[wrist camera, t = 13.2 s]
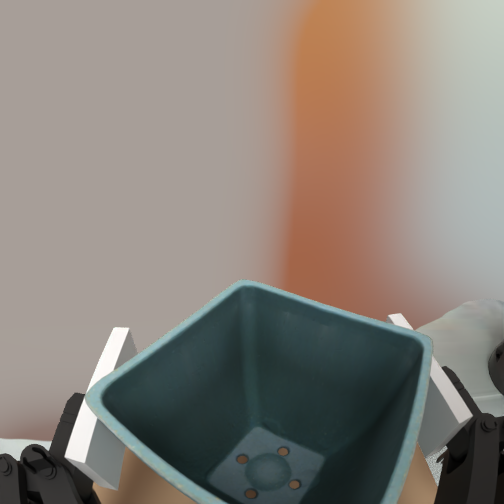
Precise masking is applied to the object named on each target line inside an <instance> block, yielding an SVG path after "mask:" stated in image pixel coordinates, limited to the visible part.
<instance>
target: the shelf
mask: <svg viewBox="0 0 504 504" xmlns="http://www.w3.org/2000/svg"><path fill="white" fill-rule="evenodd" d="M278 453H279V454H280V455H283V456H284V455H286V454H288V451H287V449H285V448H281V449H279V451H278ZM237 460H238V462H239V463H246V462H247V458H246V457H245V456H240V457H238V459H237ZM290 487H291V488H293V489H295V488H298V487H299V482H297V481H292V482H291V483H290ZM92 488H93V489H94V490H95V492H96V494H97V496H98V498H99V500H100V502H101V504H197V503H196V502H194V501H193V500H191V499H190V498H188V497H187V496H186V495H184V494H183V493H181V492H180V491H179V490H177V489H176V488H175V487H173V486H172V485H171V484H169V483H168V482H167V481H165V480H164V479H163V478H162V477H160V476H159V475H158V474H157V473H155V472H154V471H153V470H152V469H151V468H149V467H148V466H147V465H146V464H145V463H144V462H142V461H141V460H140V459H139V458H138V457H137V456H136V455H135V454H134V453H132V452H131V451H130V450H129V449H128V448H127V447H125V452H124V458H123V463H122V469H121V474H120V480H119V487H118V490H113V489H109V488H105V487H101V486H99V485H98V484H96V483H95V482H93V487H92ZM437 489H438V487H437V485H436V483H435V480H434V478H433V476H432V473H431V471H430V469H429V466H428V464H427V462H426V460H425V458H424V455H423V453H422V451H421V449H420V447H419V445H418V442H417V444H416V448H415V452H414V456H413V459H412V462H411V465H410V468H409V472H408V475H407V478H406V480H405V483H404V486H403V490H402V493H401V496H400V498H399V500H398V503H397V504H434V501H435V497H436V493H437ZM246 496H247V497H248V498H254V497H255V496H256V493H255V492H254V491H252V490H249V491H247V492H246Z"/></svg>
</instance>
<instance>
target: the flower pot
mask: <svg viewBox="0 0 504 504" xmlns="http://www.w3.org/2000/svg"><path fill="white" fill-rule="evenodd" d="M432 356H433V343H432V340H431V338H430V337H429V336H427V335H424V334H422V333H419V332H416V331H414V330H411V329H409V328H405V327H401V326H398V325H394V324H391V323H387V322H382V321H379V320H376V319H371V318H368V317H365V316H361V315H358V314H354V313H351V312H348V311H345V310H342V309H339V308H335V307H332V306H329V305H325V304H322V303H319V302H316V301H314V300H310V299H307V298H304V297H301V296H298V295H296V294H293V293H290V292H286V291H284V290H281V289H277V288H274V287H272V286H269V285H265V284H262V283H260V282H256V281H250V280H245V279H242V280H239V281H237V282H235V283H234V284H232V285H230V286H229V287H228V288H227V289H225V290H224V291H223V292H221V293H220V294H219V295H217V296H216V297H214V298H213V299H212V300H211V301H209V302H208V303H207V304H206V305H205V306H203V307H202V308H200V309H199V310H198V311H197V312H195V313H194V314H192V315H191V316H190V317H188V318H187V319H186V320H184V321H183V322H182V323H180V324H179V325H177V326H176V327H174V328H173V329H172V330H170V331H169V332H168V333H166V334H165V335H163V336H162V337H161V338H159V339H158V340H157V341H155V342H154V343H152V344H151V345H150V346H148V347H147V348H145V349H144V350H143V351H142V352H140V353H139V354H137V355H136V356H134V357H133V358H132V359H130V360H129V361H127V362H125V363H124V364H123V365H121V366H120V367H118V368H117V369H115V370H113V371H112V372H111V373H109V374H108V375H106V376H104V377H102V378H101V379H100V380H99V381H97V382H96V383H95V384H94V385H93V386H92V387H91V388H90V389H89V391H88V392H87V393H86V395H85V396H84V397H85V402H86V404H87V406H88V407H89V408H90V410H91V411H92V412H93V413H94V414H95V416H96V417H97V418H98V419H99V420H100V421H101V422H102V423H103V424H104V425H105V426H106V427H107V428H108V429H109V430H110V431H111V432H112V433H113V434H114V435H115V436H116V437H117V438H118V439H119V440H120V441H121V442H122V443H123V444H124V445H125V446H126V447H127V448H128V449H129V450H130V451H131V452H132V453H134V454H135V455H136V456H137V457H138V458H139V459H140V460H141V461H142V462H144V463H145V464H146V465H147V466H148V467H149V468H151V469H152V470H153V471H154V472H155V473H157V474H158V475H159V476H160V477H162V478H163V479H164V480H165V481H167V482H168V483H169V484H171V485H172V486H173V487H175V488H176V489H177V490H179V491H180V492H181V493H183V494H184V495H186V496H187V497H188V498H190V499H191V500H193V501H194V502H196V503H197V504H397V503H398V500H399V498H400V496H401V493H402V490H403V486H404V483H405V480H406V478H407V475H408V472H409V468H410V465H411V462H412V459H413V456H414V452H415V448H416V444H417V439H418V436H419V432H420V427H421V422H422V418H423V414H424V409H425V402H426V398H427V393H428V387H429V379H430V372H431V364H432ZM281 448H285V449H287V451H288V454H286V455H284V456H283V455H280V454H279V453H278V451H279V449H281ZM240 456H245V457H246V458H247V462H246V463H239V462H238V460H237V459H238V457H240ZM292 481H297V482H299V487H298V488H295V489H293V488H291V487H290V483H291V482H292ZM249 490H252V491H254V492H255V493H256V496H255V497H254V498H248V497H247V496H246V492H247V491H249Z"/></svg>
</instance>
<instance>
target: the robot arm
mask: <svg viewBox="0 0 504 504" xmlns="http://www.w3.org/2000/svg"><path fill="white" fill-rule="evenodd" d="M386 322H387V323H391V324H394V325H398V326H401V327H405V328H409V329H411V330H413V328H412V327H411V326H410V325H409V323H408V322H407V321H406V319H405V318H404V317H403V316H402V314H401V313H399V314H393V315H388V317H387V320H386ZM137 354H138V353H137V350H136V347H135V344H134V341H133V338H132V335H131V332H130V328H119V327H114V329H113V331H112V333H111V335H110V337H109V340H108V342H107V344H106V346H105V349H104V351H103V353H102V355H101V358H100V360H99V363H98V365H97V367H96V370H95V372H94V374H93V377H92V380H91V382H90V384H89V387H88V389H87V392H88V391H89V389H90V388H91V387H92V386H93V385H94V384H95V383H96V382H97V381H99V380H100V379H101V378H102V377H104V376H106V375H108V374H109V373H111V372H112V371H113V370H115V369H117V368H118V367H120V366H121V365H123V364H124V363H125V362H127V361H129V360H130V359H132V358H133V357H134V356H136V355H137ZM489 372H490V375H491V378H492V380H493V382H494V384H495V385H496V387H497V388H498V389H499V391H500V392H501V393H502V394H503V395H504V340H503V341H502V342H501V343H500V344H499V345H498V346H497V347H496V349H495V351H494V352H493V354H492V356H491V357H490V360H489ZM87 392H86V393H87ZM85 395H86V394H80V393H74V394H73V396H72V397H71V398H70V399H69V400H68V401H67V403H66V406H65V408H64V411H63V414H62V416H61V418H60V422H59V424H58V426H57V429H56V432H55V435H54V438H53V440H52V443H51V446H50V449H49V451H48V450H46V449H45V448H44V447H43V446H41V445H38V444H31V445H29V446H27V447H26V448H25V449H24V450H23V451H22V453H21V457H20V461H17V460H16V459H14V458H13V457H12V456H11V455H9V454H6V453H5V454H1V455H0V504H101V502H100V500H99V498H98V496H97V494H96V492H95V490H94V489H93V488H92V487H93V482H95V483H96V484H98V485H99V486H101V487H105V488H109V489H113V490H118V487H119V480H120V474H121V469H122V463H123V458H124V452H125V447H126V446H125V445H124V444H123V443H122V442H121V441H120V440H119V439H118V438H117V437H116V436H115V435H114V434H113V433H112V432H111V431H110V430H109V429H108V428H107V427H106V426H105V425H104V424H103V423H102V422H101V421H100V420H99V419H98V418H97V417H96V416H95V414H94V413H93V412H92V411H91V410H90V408H89V407H88V406H87V404H86V402H85V397H84V396H85ZM417 442H418V444H419V446H420V448H421V450H422V452H423V455H424V457H425V458H427V457H429V456H431V455H433V454H435V453H437V452H439V451H440V450H441V449H442V448H443V447H444V446H445V445H446V446H447V448H448V449H447V450H446V451H445V452H444V453H443V454H442V455H440V457H439V458H438V459H437V461H436V463H439V462H440V461H441V460H442V459H443V458H444V460H443V461H442V462H441V464H443V466H442V471H441V476H440V481H439V485H438V489H437V493H436V497H435V501H434V504H504V416H502V417H497V418H495V417H494V416H493V415H491V414H489V413H482V412H481V411H480V410H479V408H478V407H477V405H476V404H475V402H474V401H473V399H472V398H471V396H470V395H469V393H468V392H467V390H466V389H464V386H463V384H462V383H461V382H460V380H459V378H458V377H457V376H456V374H455V373H454V372H453V371H452V370H451V369H449V368H448V367H447V366H444V367H440V365H439V364H438V362H437V361H436V360H435V358H434V357H433V356H432V364H431V372H430V379H429V387H428V393H427V398H426V402H425V409H424V414H423V418H422V422H421V427H420V432H419V436H418V439H417Z"/></svg>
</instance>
